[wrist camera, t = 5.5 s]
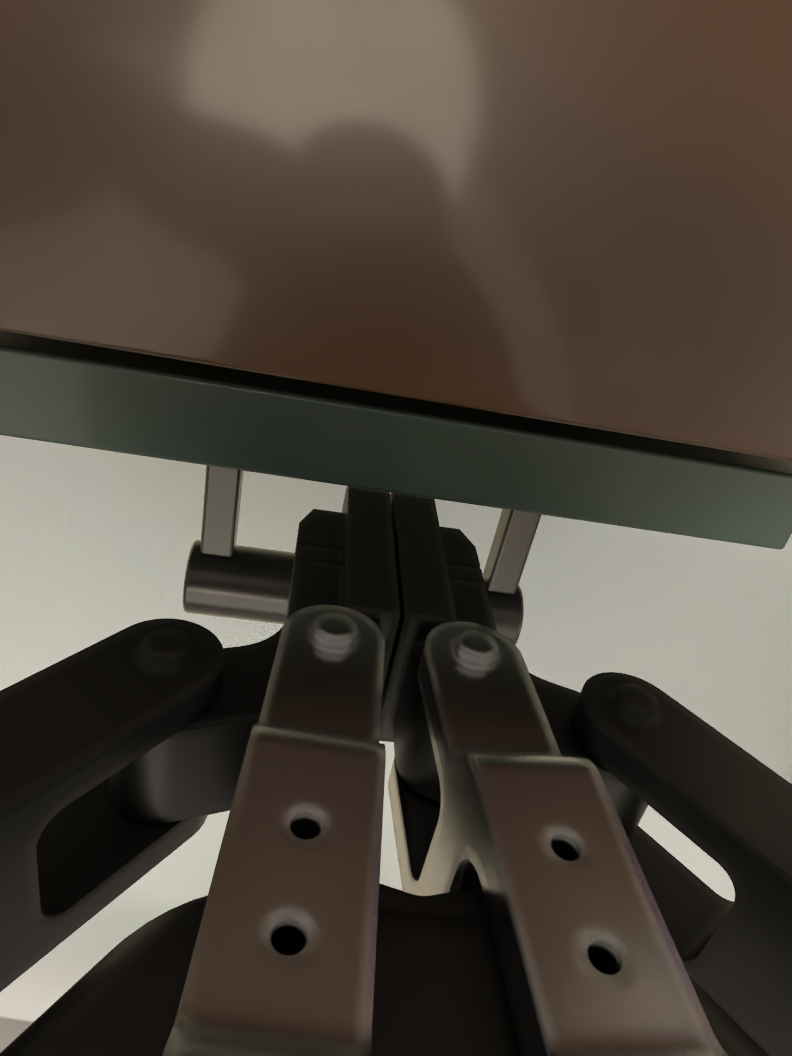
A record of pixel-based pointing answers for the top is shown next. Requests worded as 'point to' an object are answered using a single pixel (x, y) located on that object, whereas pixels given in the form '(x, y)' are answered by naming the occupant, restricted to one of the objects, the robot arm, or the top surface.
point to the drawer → (374, 462)
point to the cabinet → (417, 199)
